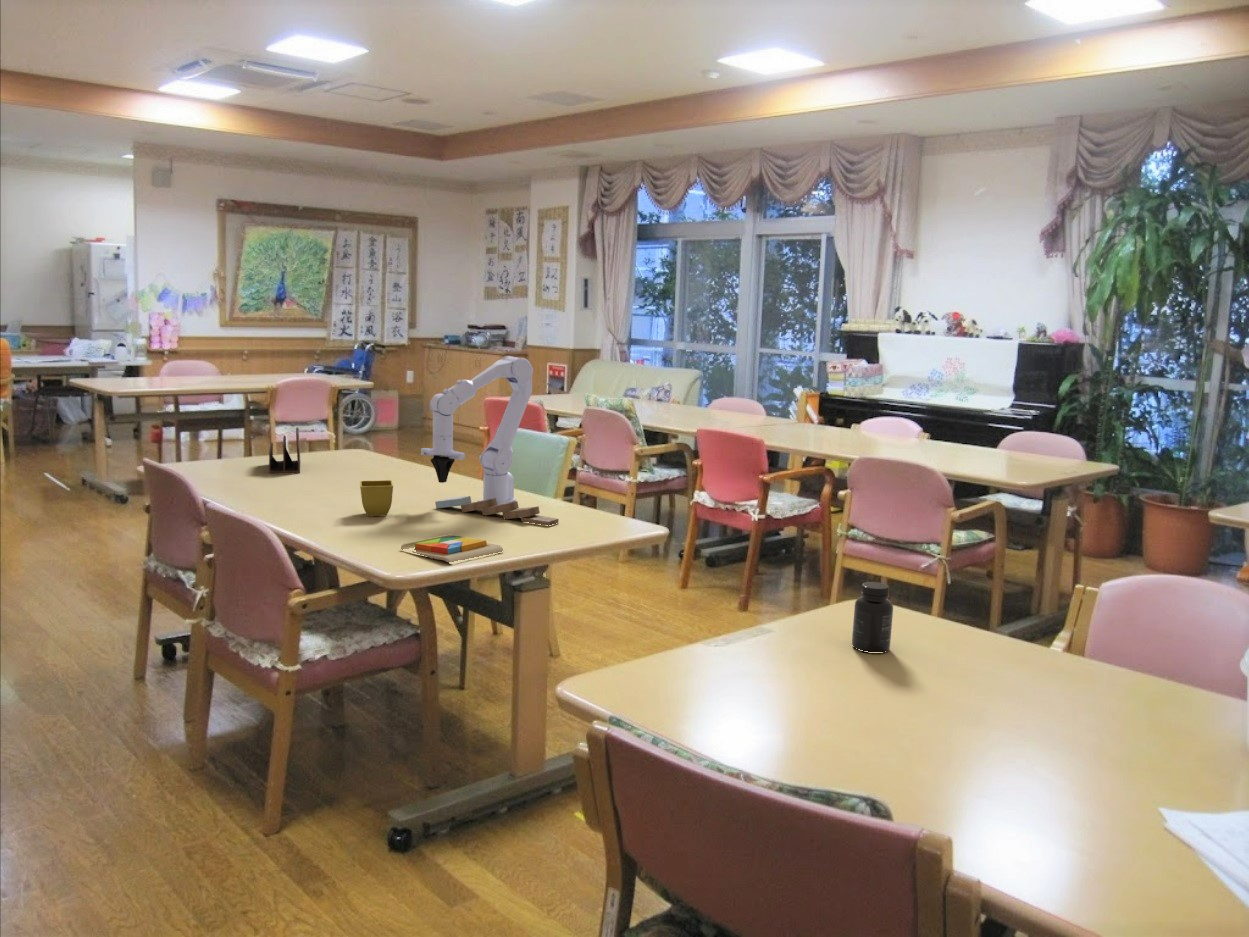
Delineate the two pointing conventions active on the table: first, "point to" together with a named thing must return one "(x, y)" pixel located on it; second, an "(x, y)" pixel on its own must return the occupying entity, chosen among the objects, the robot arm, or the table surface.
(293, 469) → the letter holder
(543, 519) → the domino
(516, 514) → the domino
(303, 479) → the table surface
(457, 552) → the wooden puzzle
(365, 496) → the flower pot
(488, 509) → the domino
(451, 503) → the blue domino
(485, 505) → the domino
